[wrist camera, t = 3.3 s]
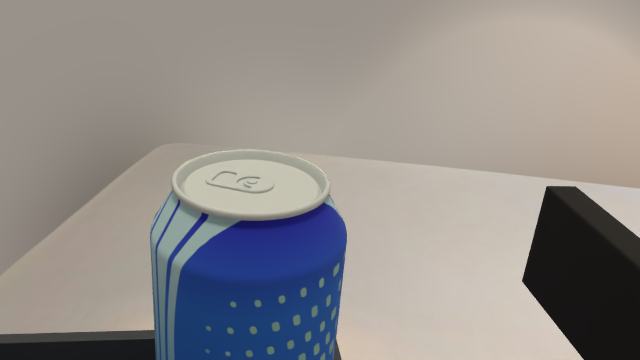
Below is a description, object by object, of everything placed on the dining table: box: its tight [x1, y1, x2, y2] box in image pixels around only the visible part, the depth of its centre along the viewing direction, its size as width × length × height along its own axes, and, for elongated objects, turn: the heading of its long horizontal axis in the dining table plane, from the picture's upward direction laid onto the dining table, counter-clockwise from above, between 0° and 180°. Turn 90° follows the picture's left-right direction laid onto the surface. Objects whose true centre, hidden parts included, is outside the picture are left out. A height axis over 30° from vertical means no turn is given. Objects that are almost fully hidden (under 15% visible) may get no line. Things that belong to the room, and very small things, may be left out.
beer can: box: [150, 149, 347, 360], centre depth 28 cm, size 8×8×16 cm
